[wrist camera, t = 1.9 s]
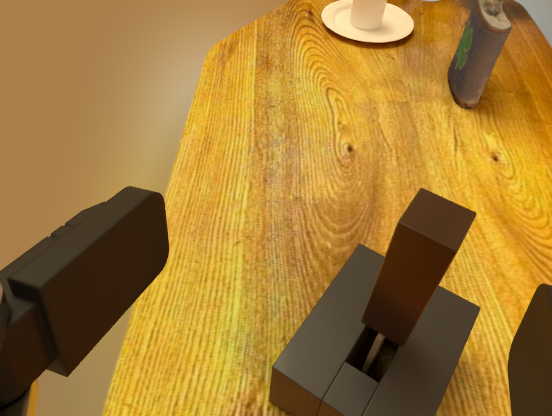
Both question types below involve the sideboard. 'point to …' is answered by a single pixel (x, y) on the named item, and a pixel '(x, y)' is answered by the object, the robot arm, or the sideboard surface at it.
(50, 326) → the robot arm
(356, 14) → the candle holder
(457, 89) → the flask
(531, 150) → the sideboard surface
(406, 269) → the knife
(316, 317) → the knife block
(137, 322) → the sideboard surface
